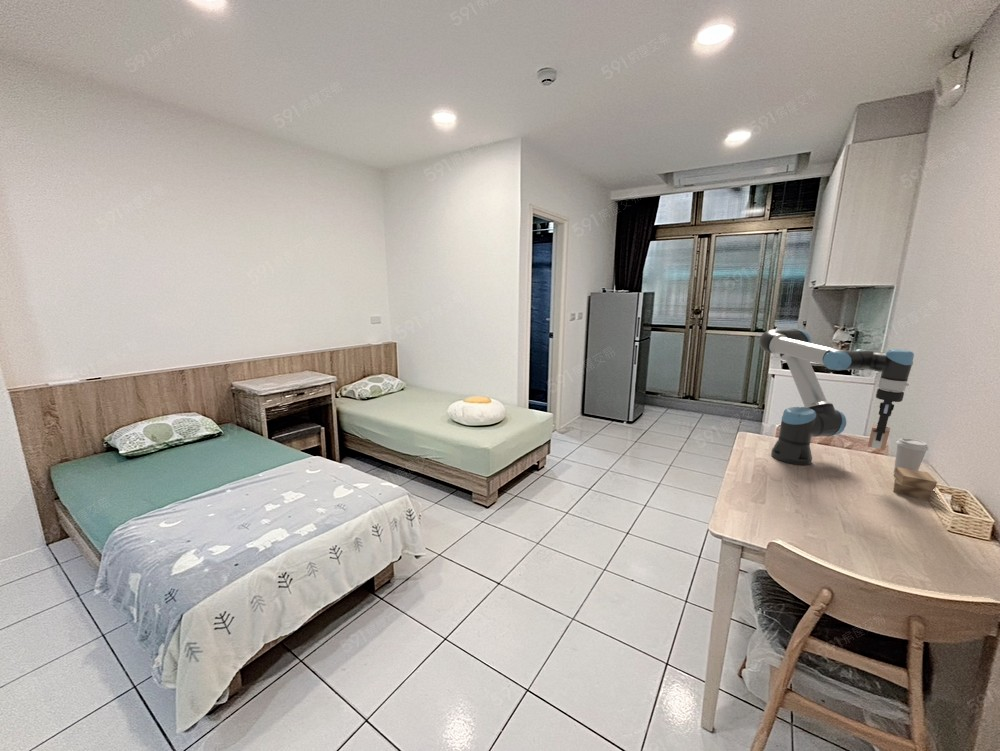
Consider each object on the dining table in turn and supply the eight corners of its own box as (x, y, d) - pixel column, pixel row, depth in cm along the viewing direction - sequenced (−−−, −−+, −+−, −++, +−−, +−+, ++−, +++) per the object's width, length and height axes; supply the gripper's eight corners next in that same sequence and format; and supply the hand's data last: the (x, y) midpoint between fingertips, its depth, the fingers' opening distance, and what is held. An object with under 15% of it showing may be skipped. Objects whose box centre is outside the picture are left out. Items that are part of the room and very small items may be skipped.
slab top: (901, 485, 152) (903, 475, 151) (893, 475, 159) (895, 466, 158) (934, 491, 147) (937, 481, 146) (924, 481, 155) (927, 472, 154)
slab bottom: (893, 492, 154) (895, 483, 153) (893, 484, 161) (896, 475, 160) (928, 502, 148) (931, 492, 147) (927, 493, 154) (930, 483, 153)
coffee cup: (906, 470, 173) (915, 437, 169) (927, 480, 163) (936, 446, 160) (882, 468, 173) (890, 436, 170) (902, 479, 164) (910, 445, 161)
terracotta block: (867, 446, 159) (872, 427, 157) (868, 443, 163) (873, 424, 161) (884, 450, 156) (889, 431, 154) (885, 446, 159) (890, 427, 157)
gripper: (904, 396, 145) (888, 455, 151) (905, 387, 157) (890, 442, 163) (876, 392, 150) (861, 449, 156) (879, 383, 162) (865, 437, 168)
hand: (876, 445), depth 159 cm, fingers closed on terracotta block, 5 cm apart
